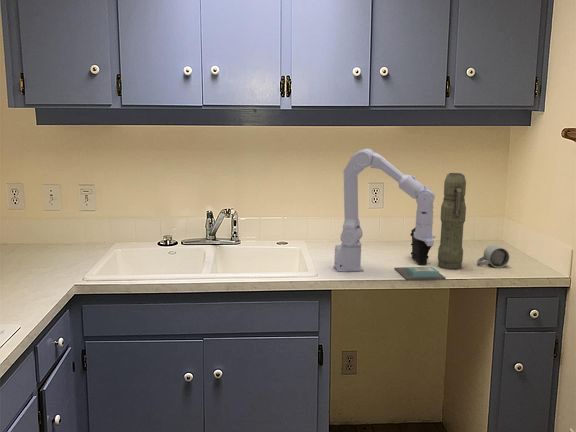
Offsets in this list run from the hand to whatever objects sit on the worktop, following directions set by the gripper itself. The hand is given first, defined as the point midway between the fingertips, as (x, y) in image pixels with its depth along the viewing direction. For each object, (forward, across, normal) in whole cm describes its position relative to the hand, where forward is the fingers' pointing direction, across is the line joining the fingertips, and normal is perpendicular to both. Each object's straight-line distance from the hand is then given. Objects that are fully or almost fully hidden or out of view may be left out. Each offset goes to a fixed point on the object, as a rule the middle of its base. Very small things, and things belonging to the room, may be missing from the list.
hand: (421, 261), depth 204 cm
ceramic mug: (+6, +11, -32) cm, 34 cm away
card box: (+4, +2, 0) cm, 4 cm away
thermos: (+5, +11, -15) cm, 19 cm away
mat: (+5, +2, 0) cm, 6 cm away
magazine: (+6, +20, -6) cm, 22 cm away
